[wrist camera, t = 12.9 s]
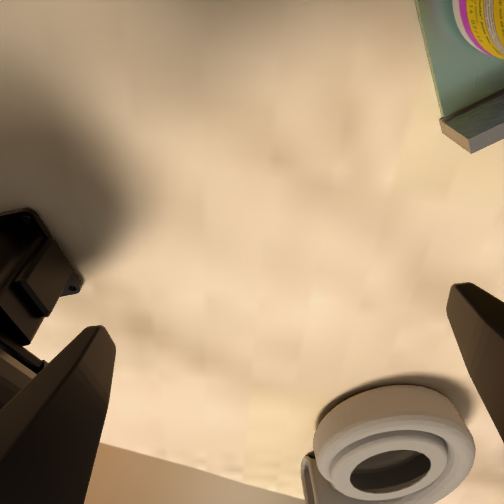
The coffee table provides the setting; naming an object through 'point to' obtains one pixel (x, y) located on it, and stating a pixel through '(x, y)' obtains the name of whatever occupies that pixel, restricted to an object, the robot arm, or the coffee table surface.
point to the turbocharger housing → (388, 449)
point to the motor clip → (462, 79)
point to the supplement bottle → (482, 24)
